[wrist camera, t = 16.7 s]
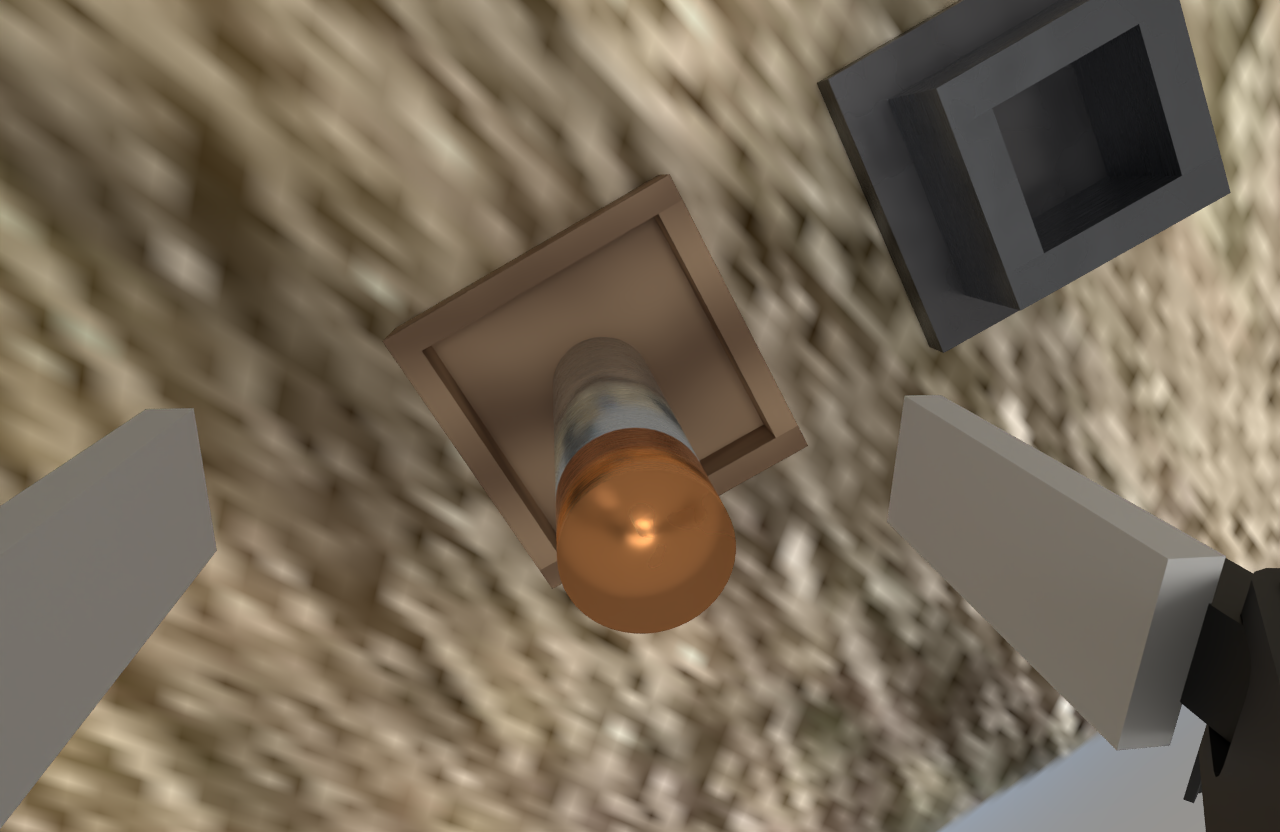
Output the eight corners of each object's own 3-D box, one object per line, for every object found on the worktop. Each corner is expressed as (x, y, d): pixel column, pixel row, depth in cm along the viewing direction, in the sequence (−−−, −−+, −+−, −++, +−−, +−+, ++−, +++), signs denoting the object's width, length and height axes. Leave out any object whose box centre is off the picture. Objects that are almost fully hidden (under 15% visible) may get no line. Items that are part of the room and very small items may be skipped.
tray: (395, 328, 31) (382, 341, 28) (659, 174, 30) (669, 174, 28) (551, 559, 34) (552, 588, 32) (788, 426, 34) (808, 445, 31)
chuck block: (817, 83, 30) (869, 64, 25) (1095, -79, 29) (1202, -129, 24) (930, 346, 33) (994, 374, 29) (1178, 207, 33) (1284, 212, 28)
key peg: (553, 433, 32) (557, 637, 17) (552, 337, 31) (555, 471, 16) (650, 431, 32) (731, 629, 18) (652, 336, 31) (740, 467, 17)
